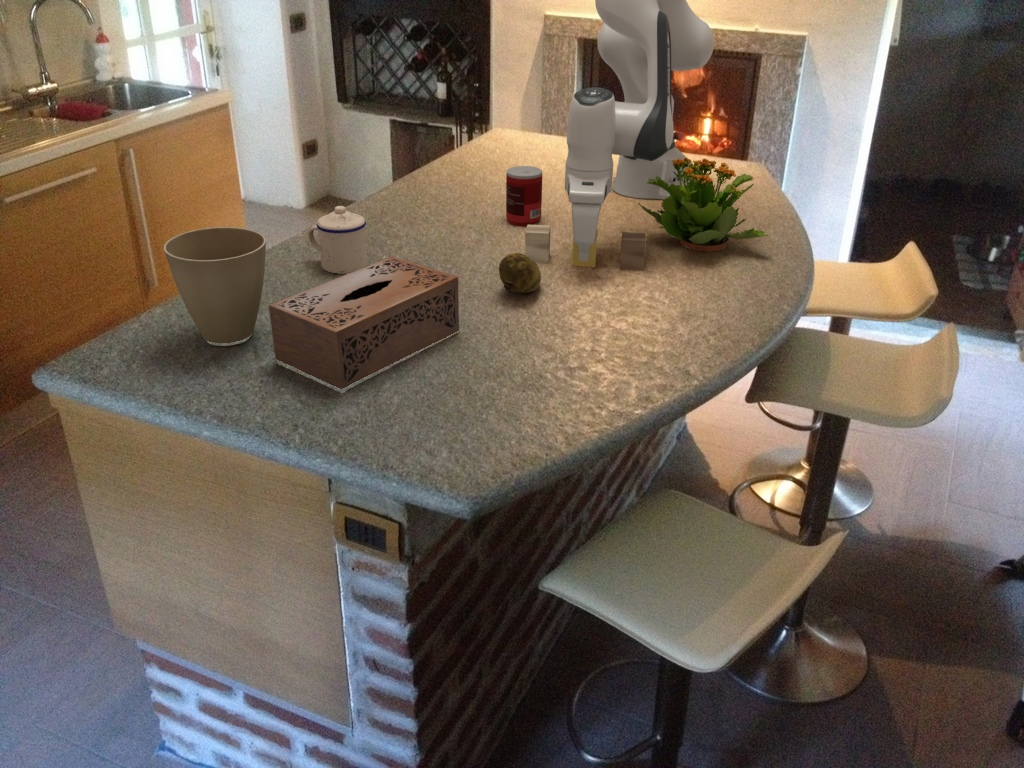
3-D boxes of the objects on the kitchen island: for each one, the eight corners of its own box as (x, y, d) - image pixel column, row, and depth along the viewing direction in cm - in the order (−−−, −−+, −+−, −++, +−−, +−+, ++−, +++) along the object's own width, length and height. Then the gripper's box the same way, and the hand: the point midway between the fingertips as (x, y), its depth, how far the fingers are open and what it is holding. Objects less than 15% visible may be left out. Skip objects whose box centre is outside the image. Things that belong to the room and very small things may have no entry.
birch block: (527, 253, 178) (527, 224, 175) (549, 254, 178) (550, 225, 175) (524, 261, 174) (525, 232, 171) (547, 263, 174) (548, 233, 171)
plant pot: (226, 366, 135) (210, 268, 127) (161, 342, 142) (142, 247, 134) (297, 331, 146) (286, 237, 138) (232, 310, 153) (219, 220, 145)
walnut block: (619, 261, 175) (621, 231, 172) (642, 262, 175) (645, 232, 172) (619, 269, 171) (621, 239, 168) (643, 270, 171) (646, 240, 168)
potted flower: (787, 246, 183) (802, 161, 175) (726, 277, 168) (739, 186, 160) (684, 217, 198) (693, 138, 190) (620, 244, 183) (626, 159, 174)
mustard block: (573, 257, 176) (574, 228, 174) (595, 258, 176) (597, 229, 173) (571, 265, 173) (573, 236, 170) (595, 266, 172) (597, 237, 169)
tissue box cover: (395, 310, 154) (392, 256, 149) (459, 334, 146) (458, 277, 141) (276, 365, 136) (268, 305, 131) (341, 395, 128) (335, 332, 124)
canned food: (542, 215, 198) (543, 166, 193) (539, 227, 191) (541, 176, 186) (508, 213, 199) (508, 164, 194) (504, 225, 192) (504, 175, 187)
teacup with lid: (377, 261, 173) (373, 203, 167) (353, 278, 166) (348, 217, 160) (324, 252, 177) (318, 195, 171) (298, 268, 169) (291, 209, 164)
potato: (557, 284, 164) (559, 242, 160) (524, 309, 155) (525, 265, 151) (518, 275, 168) (518, 234, 164) (483, 299, 158) (483, 256, 154)
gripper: (574, 164, 176) (571, 232, 183) (568, 196, 158) (565, 269, 165) (606, 166, 175) (602, 233, 182) (604, 197, 157) (599, 271, 164)
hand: (584, 250), depth 173 cm, fingers open, 8 cm apart
